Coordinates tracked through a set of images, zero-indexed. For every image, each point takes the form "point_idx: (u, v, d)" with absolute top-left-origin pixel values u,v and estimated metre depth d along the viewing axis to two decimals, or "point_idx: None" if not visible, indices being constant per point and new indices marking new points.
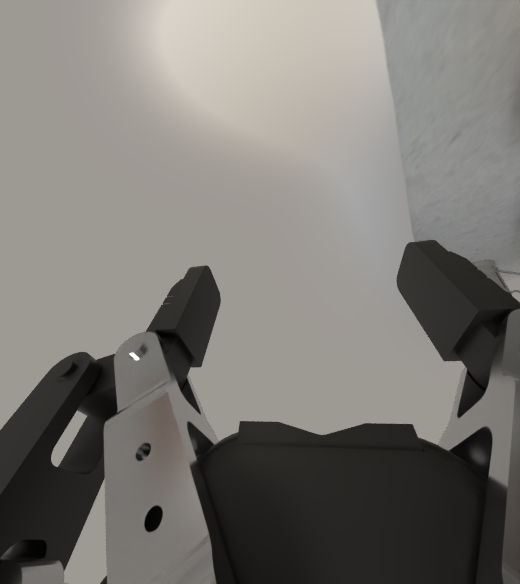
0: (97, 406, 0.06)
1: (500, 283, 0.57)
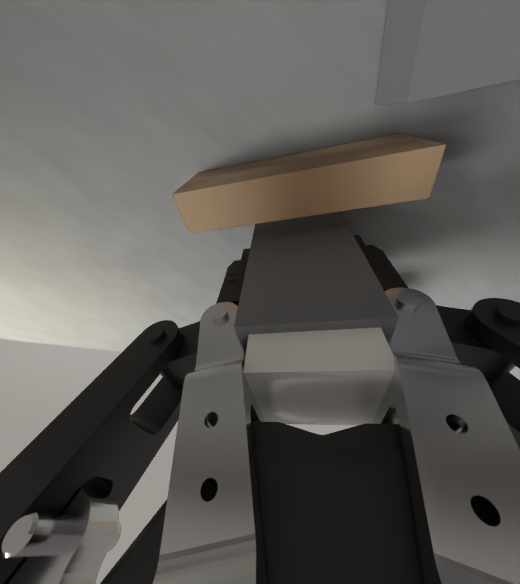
0: (182, 371, 0.06)
1: None
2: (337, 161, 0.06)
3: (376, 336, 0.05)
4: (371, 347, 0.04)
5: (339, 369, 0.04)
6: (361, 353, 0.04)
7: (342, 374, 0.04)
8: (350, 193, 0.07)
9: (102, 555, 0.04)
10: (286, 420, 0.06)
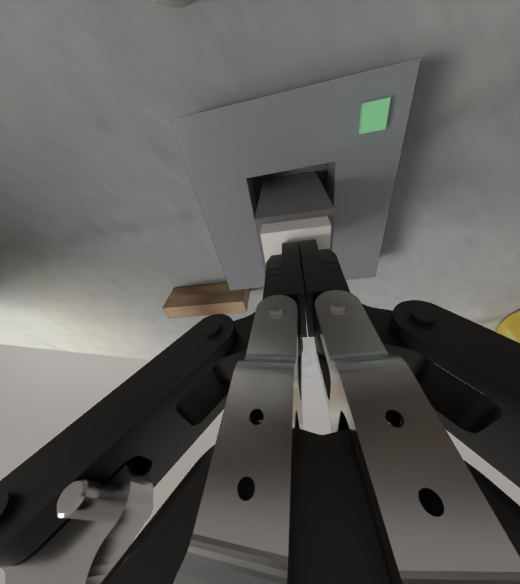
0: None
1: None
2: (215, 300, 0.20)
3: (324, 218, 0.09)
4: (321, 221, 0.09)
5: (305, 228, 0.09)
6: (316, 223, 0.09)
7: (306, 232, 0.09)
8: (220, 310, 0.20)
9: (134, 534, 0.04)
10: None
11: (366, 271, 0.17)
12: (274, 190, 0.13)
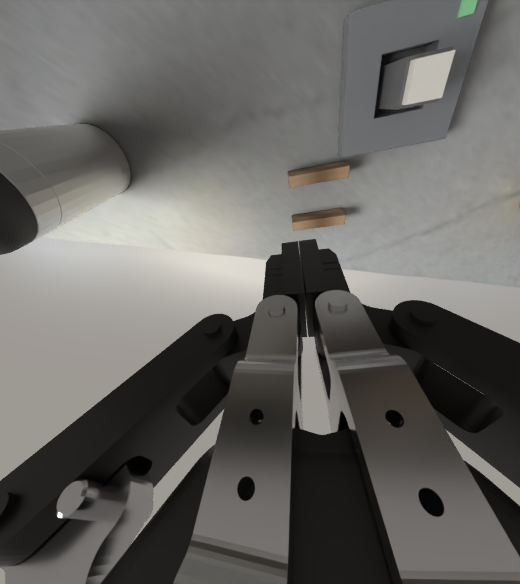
0: None
1: None
2: (328, 169, 0.29)
3: (448, 52, 0.18)
4: (447, 52, 0.18)
5: (441, 53, 0.18)
6: (445, 52, 0.18)
7: (441, 56, 0.18)
8: (331, 176, 0.29)
9: (133, 534, 0.04)
10: (414, 100, 0.20)
11: (440, 133, 0.26)
12: None
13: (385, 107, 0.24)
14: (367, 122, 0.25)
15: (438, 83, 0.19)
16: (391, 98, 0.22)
